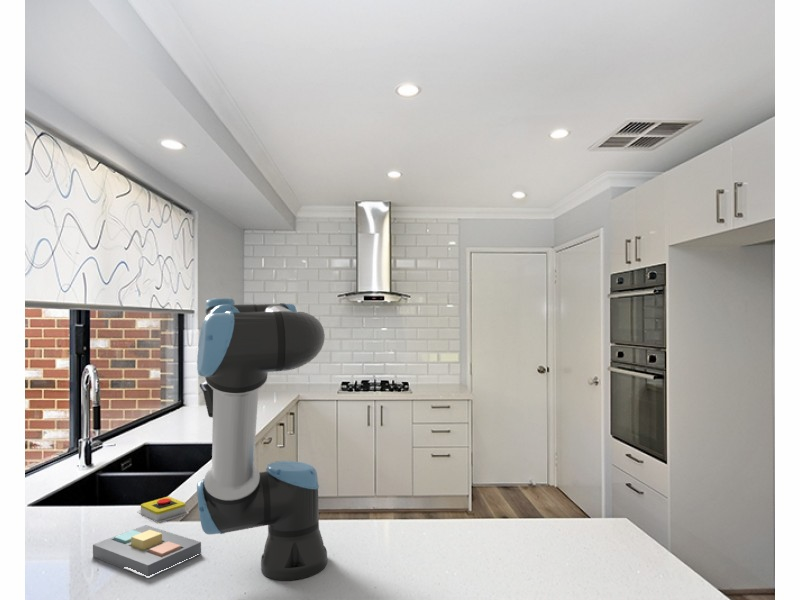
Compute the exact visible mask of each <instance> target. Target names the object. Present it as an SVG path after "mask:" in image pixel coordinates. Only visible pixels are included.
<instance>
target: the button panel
mask: <svg viewBox="0 0 800 600" xmlns="http://www.w3.org/2000/svg"><path fill="white" fill-rule="evenodd" d="M133 530H135V531H138V532H141V533H143V532H145V531H148V530H153V531H156V532H159V533H162V543H160V544H157V545H155V546H152V547H150V548H148V549H145V550H143V551H142V550H139V549H137V548H134V547H131V542H129V543H126V544H123V543H120V542H117V541H114V537H115V536H112V537H110V538H107V539H105V540H101V541H99V542H96V543H94V544H92V557H93V558H95V559H97V560H100V561H102V562H105V563H107V564H110V565H113V566H114V567H118V568H120V569H122V568H124V567H128V568H131V569H133V570H136V571H137V572H140V573H142V574H144V575H146V576H150V575H152V574H155V573H157V572H159V571H161V570H164V569H166V568H169V567H171V566H173V565H175V564H177V563H179V562H182V561H184V560H186V559H189V558H191V557H193V556H195V555H197V554H200V553H201V554H202V542H201V541H200V540H199V541H198V540H195V539H192V538H190V537H186V536H182V535H179V534H177V533H173V532H171V531H170V532H169V531H166V530H163V529H159V528H156V527H153V526H150V525H147V524H145V525H141V526H139V527H137V528H134V529H133ZM129 531H130V530H129ZM129 531H127V532H129ZM121 534H122V533H121ZM121 534H119V535H121ZM116 536H118V535H116ZM168 541H169V542H172V543H175V544H178V545H181V549H180V550H177V551H175V552H173V553H170V554H168V555H166V556H163V557H159V556H156V555H154V554H151V553H149V549H151V548H153V547H156V546H158V545H161V544H163V543H166V542H168Z"/></svg>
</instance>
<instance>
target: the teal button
mask: <svg viewBox="0 0 800 600" xmlns="http://www.w3.org/2000/svg"><path fill="white" fill-rule="evenodd" d="M140 533H141V532H138V531H135V530H134V529H130V530H129V532H128V531H126V532H123V533H121V535H120V534H119V535H118V536H117V535H116V536H113V537H114V541H117V542H120V543H123V544H126V543H129V542H131V537H132V536H135V535H137V534H140Z"/></svg>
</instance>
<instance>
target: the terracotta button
mask: <svg viewBox="0 0 800 600" xmlns="http://www.w3.org/2000/svg"><path fill="white" fill-rule="evenodd" d="M180 549H181V545H178V544H175V543H172V542H169V541H168V542H166V543H163V544H161V545H158V546H156V547H153V548H151V549H149V553H151V554H154V555H156V556H159V557H163V556H166V555H168V554H170V553H173V552H175V551H177V550H180Z"/></svg>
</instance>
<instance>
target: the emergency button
mask: <svg viewBox="0 0 800 600" xmlns="http://www.w3.org/2000/svg"><path fill="white" fill-rule="evenodd" d="M186 506H187V505H186V503H185V501H184V502H183V501H181V500H178V499H176V498H173V497H172V496H164V497H162V498H158V499H154V500H150V501H147V502H143V503H141V504H140V510H138V511H137V514H139V515H142V516H144V517H146V518H147V519H149V520H152V521H154V522H156V523H164V522H167V521H170V520H174V519H177V518H180V517H183V516H187V515H188V514H189V511H187V507H186Z"/></svg>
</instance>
